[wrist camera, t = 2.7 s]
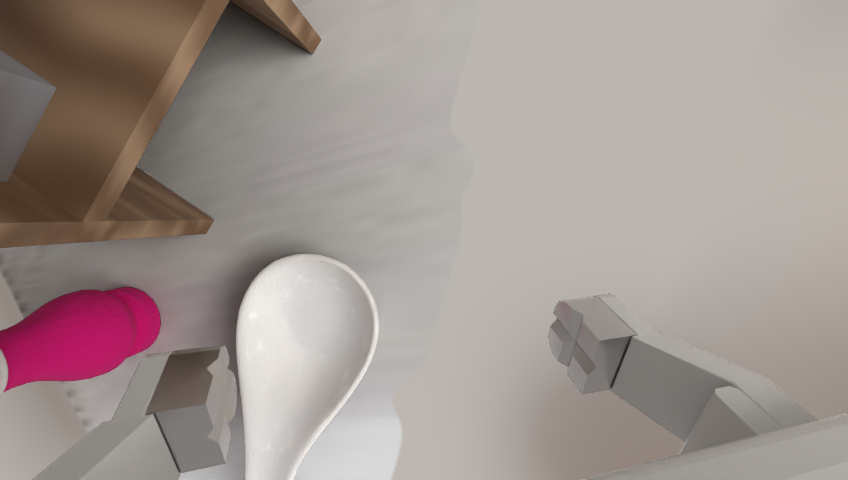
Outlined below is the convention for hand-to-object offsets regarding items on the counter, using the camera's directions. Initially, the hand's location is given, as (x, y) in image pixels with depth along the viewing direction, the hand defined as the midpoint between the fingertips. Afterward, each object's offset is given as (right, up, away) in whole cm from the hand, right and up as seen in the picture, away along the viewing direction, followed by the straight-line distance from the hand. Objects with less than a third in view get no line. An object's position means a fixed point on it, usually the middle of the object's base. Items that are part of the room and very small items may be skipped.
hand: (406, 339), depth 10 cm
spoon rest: (-10, -10, +27) cm, 30 cm away
